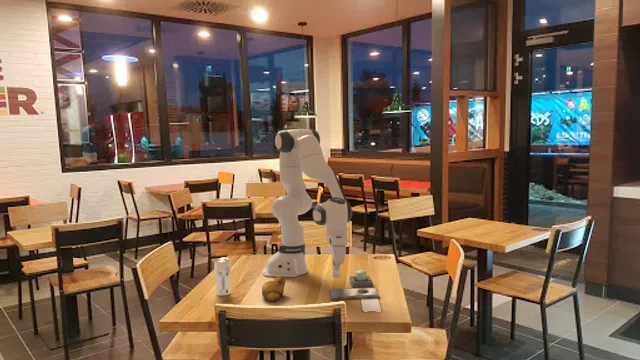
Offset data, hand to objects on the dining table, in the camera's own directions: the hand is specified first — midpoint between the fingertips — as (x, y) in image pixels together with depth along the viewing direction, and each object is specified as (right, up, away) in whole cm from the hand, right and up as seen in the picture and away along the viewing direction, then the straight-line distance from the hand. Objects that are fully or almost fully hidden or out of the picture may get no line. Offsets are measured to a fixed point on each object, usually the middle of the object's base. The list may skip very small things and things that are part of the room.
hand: (336, 268), depth 193 cm
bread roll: (-27, -13, -1) cm, 30 cm away
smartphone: (+13, -13, -10) cm, 21 cm away
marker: (0, -4, 0) cm, 4 cm away
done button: (+12, -8, +12) cm, 19 cm away
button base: (+12, -10, +13) cm, 20 cm away
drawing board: (+8, -12, +1) cm, 14 cm away
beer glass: (-49, -12, +4) cm, 51 cm away
